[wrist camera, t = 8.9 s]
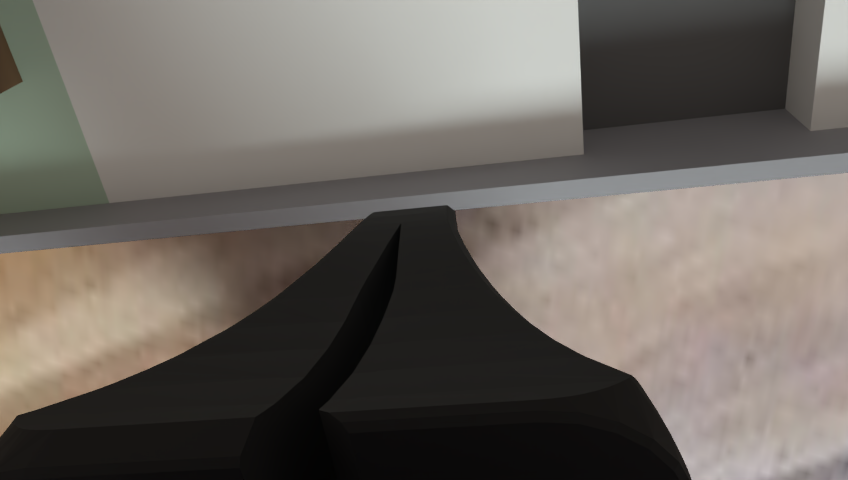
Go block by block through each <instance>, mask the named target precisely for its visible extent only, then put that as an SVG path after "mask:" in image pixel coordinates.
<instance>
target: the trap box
mask: <svg viewBox="0 0 848 480" xmlns="http://www.w3.org/2000/svg"><path fill="white" fill-rule="evenodd" d="M0 26H1V28H2V31H3V33H4V36H5V38H6V41H7V43H8V46H9V48H10V51H11V53H12V56H13V58H14V61H15V63H16V66H17V68H18V71H19V73H20V76H21V78H22V81H23V82H21V83H19V84H17V85H16V86H14V87H12V88H10V89H8V90H6V91H4V92H3V93H1V94H0V254H1V253H11V252H22V251H32V250H43V249H53V248H64V247H74V246H85V245H95V244H106V243H116V242H127V241H137V240H148V239H158V238H169V237H179V236H190V235H200V234H210V233H221V232H231V231H242V230H252V229H263V228H273V227H284V226H294V225H305V224H315V223H326V222H336V221H347V220H357V219H365V218H366V217H368V216H369V215H370V214H372V213H373V212H380V211H390V210H401V209H411V208H421V207H432V206H442V205H448V206H449V207H451V208H452V209H453V210H462V209H472V208H483V207H493V206H504V205H514V204H525V203H535V202H546V201H556V200H567V199H577V198H588V197H598V196H609V195H619V194H630V193H640V192H651V191H661V190H672V189H682V188H693V187H703V186H714V185H724V184H734V183H745V182H755V181H766V180H776V179H787V178H797V177H808V176H818V175H829V174H839V173H848V0H0Z"/></svg>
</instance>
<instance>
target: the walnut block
mask: <svg viewBox="0 0 848 480" xmlns="http://www.w3.org/2000/svg"><path fill="white" fill-rule="evenodd" d="M21 82H23V81H22V78H21V76H20V73H19V71H18V68H17V66H16V63H15V61H14V58H13V56H12V53H11V51H10V48H9V46H8V43H7V41H6V38H5V36H4V33H3V31H2V28H1V26H0V94H1V93H3V92H4V91H6V90H8V89H10V88H12V87H14V86H16V85H17V84H19V83H21Z"/></svg>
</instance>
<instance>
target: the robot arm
mask: <svg viewBox="0 0 848 480" xmlns="http://www.w3.org/2000/svg"><path fill="white" fill-rule="evenodd" d="M0 480H691V477H690V474H689V472H688V469H687V467H686V465H685V462H684V460H683V458H682V456H681V454H680V452H679V450H678V448H677V446H676V444H675V442H674V440H673V438H672V436H671V434H670V432H669V430H668V429H667V427H666V425H665V423H664V422H663V420H662V418H661V417H660V415H659V413H658V411H657V410H656V408H655V407H654V405H653V404H652V402H651V400H650V399H649V397H648V396H647V394H646V393H645V391H644V390H643V388H642V387H641V385H640V384H639V382H638V381H637V380H636V379H635V378H634V377H633V376H632V375H629V374H627V373H625V372H622V371H620V370H617V369H615V368H612V367H610V366H607V365H605V364H602V363H600V362H597V361H595V360H592V359H590V358H587V357H585V356H583V355H581V354H579V353H577V352H575V351H573V350H571V349H570V348H568V347H566V346H564V345H562V344H560V343H559V342H557V341H555V340H553V339H552V338H550V337H549V336H548V335H546V334H545V333H543V332H542V331H540V330H539V329H538V328H536V327H535V326H533V325H532V324H531V323H529V322H528V321H527V320H526V319H525V318H524V317H522V316H521V315H520V314H519V313H518V312H517V311H516V310H515V309H514V308H513V307H512V306H511V305H510V304H509V303H508V302H507V301H506V300H505V299H504V298H503V297H502V296H501V295H500V294H499V293H498V292H497V291H496V290H495V288H494V287H493V286H492V285H491V284H490V282H489V281H488V280H487V278H486V277H485V276H484V274H483V273H482V272H481V270H480V269H479V268H478V266H477V265H476V263H475V262H474V260H473V258H472V257H471V255H470V253H469V252H468V250H467V248H466V247H465V245H464V243H463V241H462V239H461V237H460V234H459V232H458V229H457V222H456V215H455V211H454V210H453V209H452V208H451V207H449V206H448V205H442V206H432V207H421V208H411V209H401V210H390V211H380V212H373V213H372V214H370V215H369V216H368V217H366V218H365V219H364V220H363V221H362V222H361V223H360V224H359V225H358V226H357V227H356V228H355V229H354V230H352V231H351V232H350V233H349V234H348V235H347V236H346V237H345V238H344V239H343V240H342V241H341V242H340V243H339V244H338V245H337V246H335V247H334V248H333V249H332V250H331V251H330V252H329V253H328V254H327V255H326V256H325V257H324V258H323V259H321V260H320V261H319V262H318V263H317V264H316V265H315V266H313V267H312V268H311V269H310V270H309V271H307V272H306V273H305V274H304V275H302V276H301V277H300V278H299V279H298V280H296V281H295V282H294V283H293V284H292V285H290V286H289V287H288V288H287V289H285V290H284V291H283V292H282V293H280V294H279V295H278V296H276V297H275V298H274V299H272V300H271V301H270V302H268V303H267V304H265V305H264V306H262V307H261V308H260V309H258V310H257V311H255V312H253V313H252V314H250V315H249V316H247V317H246V318H244V319H243V320H241V321H240V322H238V323H237V324H235V325H233V326H232V327H230V328H228V329H227V330H225V331H223V332H221V333H219V334H217V335H215V336H214V337H212V338H210V339H208V340H206V341H204V342H202V343H200V344H199V345H197V346H195V347H193V348H191V349H189V350H187V351H186V352H184V353H182V354H180V355H178V356H176V357H174V358H172V359H170V360H167V361H165V362H163V363H161V364H158V365H156V366H154V367H152V368H150V369H147V370H145V371H143V372H140V373H138V374H135V375H133V376H131V377H128V378H126V379H123V380H121V381H118V382H116V383H113V384H111V385H108V386H105V387H103V388H100V389H97V390H95V391H92V392H89V393H86V394H83V395H80V396H77V397H74V398H71V399H68V400H65V401H62V402H59V403H56V404H53V405H50V406H47V407H44V408H41V409H38V410H35V411H31V412H28V413H25V414H21V415H18V416H17V417H16V418H15V419H14V421H13V422H12V423H11V424H10V426H9V427H8V428H7V430H6V431H5V432H4V433H3V435H2V436H1V437H0Z"/></svg>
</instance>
